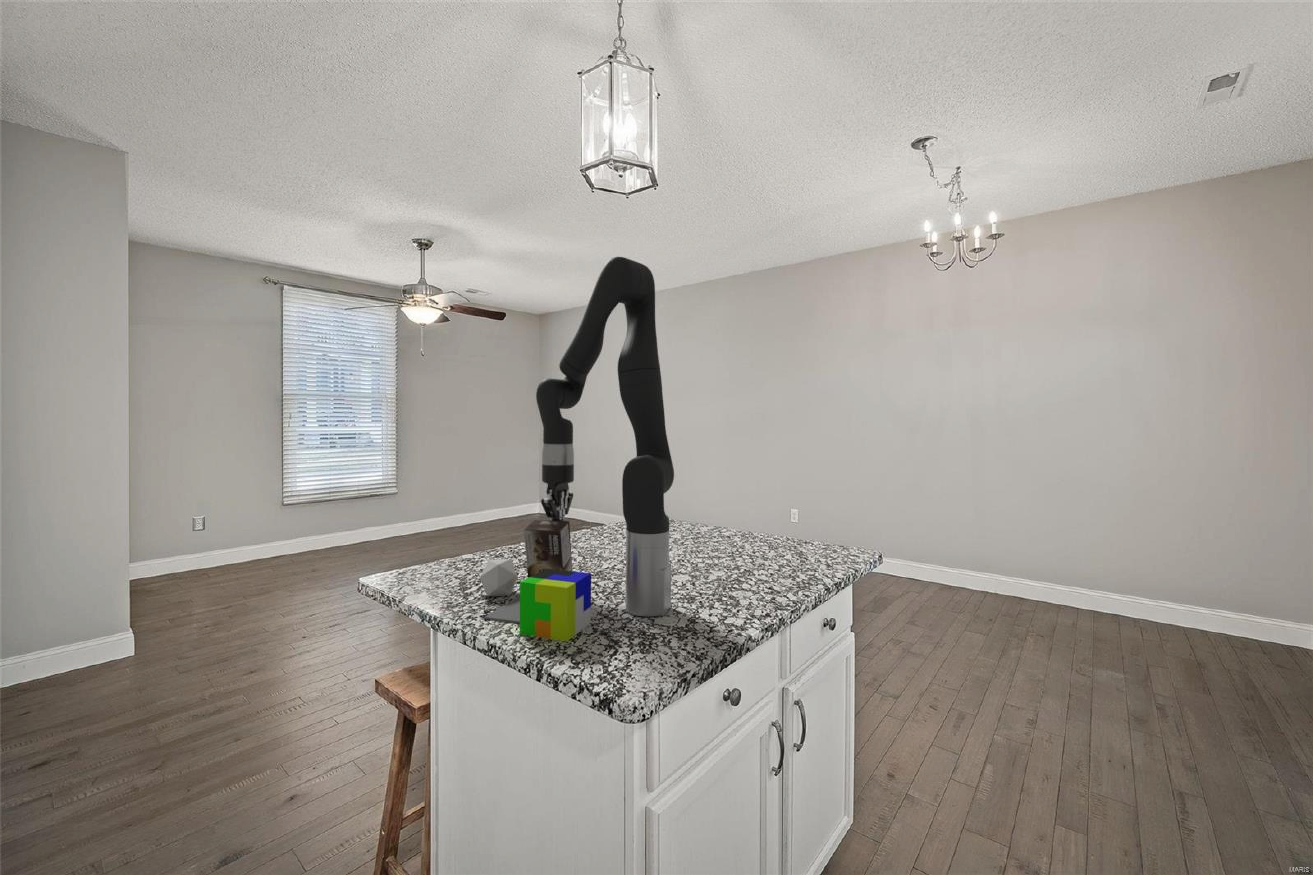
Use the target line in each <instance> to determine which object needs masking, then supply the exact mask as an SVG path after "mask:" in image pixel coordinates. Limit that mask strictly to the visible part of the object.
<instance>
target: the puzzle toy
mask: <svg viewBox="0 0 1313 875" xmlns="http://www.w3.org/2000/svg"><path fill="white" fill-rule="evenodd" d="M519 596H520V623H519V635H524V636H528V637H529V636H530V637H536V638H542V639H543V638H544V639H547V640H554V641H558V642H559V641H561V642H568V641H570V640H571V639H572V638H573V637H575V636H576V635H577V634H579V632H581V631H583V630H584V629H585V627H587V626H589V625H590V624H591V623H592V573H590V572H589V573H588V572H580V571H573V570H572V571H565V570H556V569H545V570H543V571H541V572H539V573H537V574H535V575H533V576H531V577H529V578H528V577H527V578H525V579H523V580H521V581H519Z"/></svg>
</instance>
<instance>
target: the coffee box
mask: <svg viewBox="0 0 1313 875" xmlns="http://www.w3.org/2000/svg"><path fill="white" fill-rule="evenodd" d="M570 525H571V524H570V521H569V520H563V521H552V520H550V519H549V520H548V519H547V520H546V519H545V520H541V519H534V520H533V521H532V522H530V524H528V525H527V527H525V528H524V529H523V536H524V546H525V547H524V549H525V556H526V557H525V560H526V561H525V562H526V569H527V570H526V572H527V578H529V577H531V576H533V575H535V574H537V573H539V572H541V571H543V570H545V569H556V570H565V571H573V560H572V559H573V558H572V556H573V555H572V544H571V542H572V541H571V529H570V528H571V527H570Z"/></svg>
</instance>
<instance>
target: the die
mask: <svg viewBox="0 0 1313 875" xmlns="http://www.w3.org/2000/svg"><path fill="white" fill-rule="evenodd" d="M479 579H480V583H481V585H482V586H483V589H484V592H485V594H486V596H487V597H502V596H511V594H512V592H513V589H514V588H515V585H516V583H517V581H518V579H519V577H518V574H517V571H516V569H515V567H514V564H513V561H512V559H510V558H507V559H506V558H505V559H504V558H503V559H488V561H487V562H486V564H485V566H484V568H483V569H482V572H481V574H480V575H479Z"/></svg>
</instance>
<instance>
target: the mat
mask: <svg viewBox="0 0 1313 875" xmlns="http://www.w3.org/2000/svg"><path fill="white" fill-rule="evenodd" d="M484 620H490V621H500V622H506V623H515V624H520V595H518V596H516V597H515V598H513V599H511V600H509V601H508V602H506V603H505V604H503V605H502V606H500V607H498V608H497V609H495V610H493V611H492V612H490V613H488V614H487V615H485V616H484Z"/></svg>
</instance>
